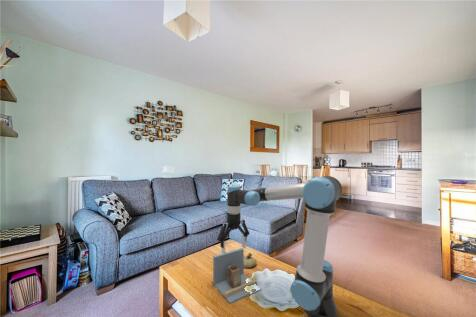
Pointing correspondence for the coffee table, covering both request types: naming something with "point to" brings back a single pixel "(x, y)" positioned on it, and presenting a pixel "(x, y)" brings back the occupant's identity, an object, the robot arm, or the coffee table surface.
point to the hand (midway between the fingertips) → (233, 250)
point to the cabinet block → (233, 276)
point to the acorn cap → (249, 261)
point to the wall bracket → (221, 275)
